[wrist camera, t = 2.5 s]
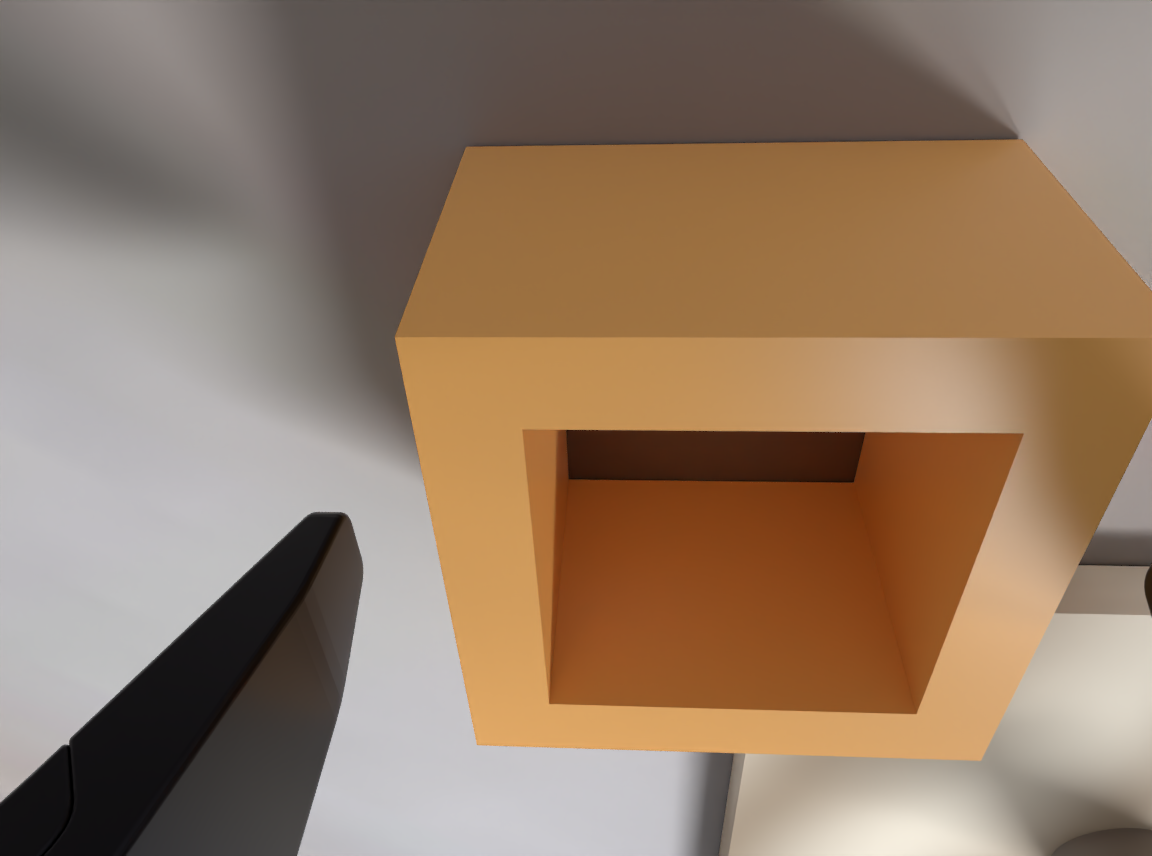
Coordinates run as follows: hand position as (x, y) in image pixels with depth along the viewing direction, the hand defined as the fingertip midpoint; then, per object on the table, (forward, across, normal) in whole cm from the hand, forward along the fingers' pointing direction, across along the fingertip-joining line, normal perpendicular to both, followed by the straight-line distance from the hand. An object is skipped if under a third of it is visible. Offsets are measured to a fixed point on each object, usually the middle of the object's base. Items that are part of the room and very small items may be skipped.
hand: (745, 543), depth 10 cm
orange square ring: (+3, 0, 0) cm, 3 cm away
